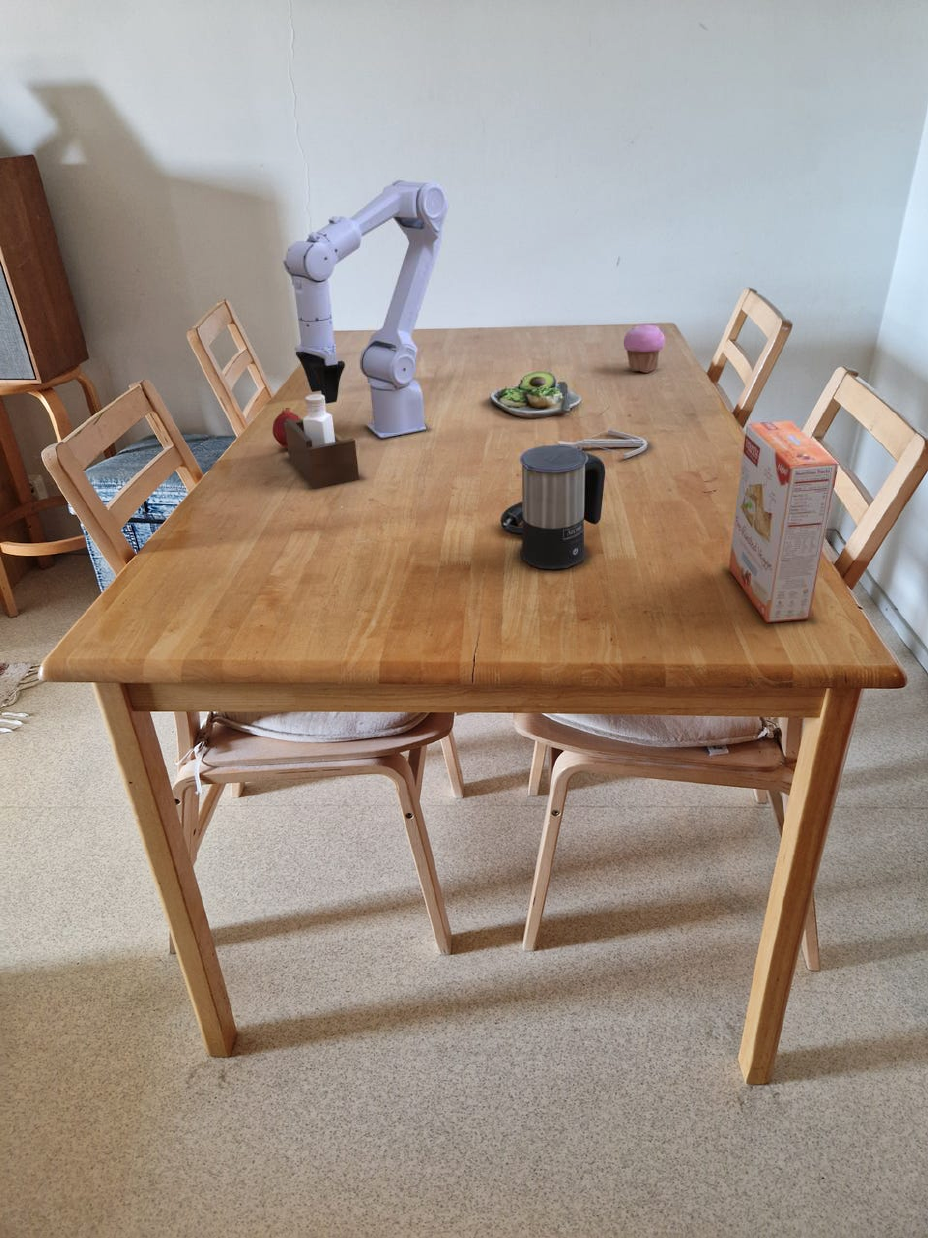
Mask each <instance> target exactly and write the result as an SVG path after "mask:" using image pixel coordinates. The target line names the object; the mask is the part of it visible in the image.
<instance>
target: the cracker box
mask: <svg viewBox="0 0 928 1238" xmlns="http://www.w3.org/2000/svg"><path fill="white" fill-rule="evenodd" d="M838 468H839V462H838V461H837V460H835V459H834V458H833V456H831V455H830V454H828V452H827V451H825V450H824V449H823V448H822V447H820V446H819V445H818V444H817V443H816V442H815V441H814V440H812V439H811V437H809V436H808V435H807V434H806V433H804V431H802V430H801V429H800V428H799V427H797V426H796V425H795V424H794V423H793V422H792V421H791V420H780V421H763V422H762V421H761V422H752V423H748V424H746V425H745V434H744V442H743V451H742V457H741V467H740V474H739V483H738V491H737V498H736V499H737V500H736V507H735V512H734V513H735V514H734V523H733V530H732V532H733V533H732V538H731V547H730V555H729V562H728V569H729V571H730V572H731V574H732V576H733V577H734V578H735V579H736V581H737V582H738V584H739V585H740V586H741V588H742V589H743V591H744V592H745V594H746V595H747V597H748V598H749V600H750V601H751V602H752V604H753V606H754V607H755V609H756V610H757V611H758V613H759V614H760V616H761V617H762V619H763V620H764V622H765V623H767V624H768V623H778V622H779V623H780V622H789V621H790V622H791V621H801V620H809V619H810V618H811V614H812V609H813V604H814V598H815V597H814V596H815V592H816V587H817V581H818V575H819V570H820V566H821V561H822V560H821V559H822V554H823V550H824V545H825V540H826V534H827V527H828V522H829V517H830V513H831V512H830V511H831V508H832V507H831V506H832V501H833V495H834V491H835V486H836V480H837V475H838V471H839V470H838Z"/></svg>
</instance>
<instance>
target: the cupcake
mask: <svg viewBox="0 0 928 1238" xmlns="http://www.w3.org/2000/svg"><path fill="white" fill-rule="evenodd" d="M664 334H665V333H664V332H663V331H662V330H660V328H659V326H657V325H652V324H643V325H636V326H634V327H633V328H631V329H629V330H628V331H627V332H626V334H625V336H624V338H623V347H624V348H623V349H624V350H625V351H626V354H627V359H628V365H629V367H630V369H631V370H632V371H633V372H640V373H643V374H646V373H647V374H648V373H650V372H652V371H654V370H656V368H657V367H658V363H659V355H660V351H661V350H662V349H663V348H664V347H665V346H666V337H665V335H664Z"/></svg>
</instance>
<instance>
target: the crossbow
mask: <svg viewBox="0 0 928 1238" xmlns="http://www.w3.org/2000/svg"><path fill="white" fill-rule="evenodd" d="M605 432H607V434H609V435H612V436H616V437H621V438H624V439H593V437H597V436H599V435H601V434H604V433H605ZM557 445H565V446H570V447H575V448H577V449H580V450H584V448H587V447H589V448H594V447H595V448H596V447H597V448H600V449H604V450H606V451H607V450H608V451H610V452H614V453H617V454H620V455H623V456H622V459H623V460H626V459H628V458H631V457H634V456H636V455H639V454H640V453H642V452H643V451H646V449H647V448H648V442H647V440H646V439H643V438H642V437H639V436H636V435H633V434H629V433H626V432H622V431H617V430H614V429H611V428H609V429H607V430H604V431H602V432H600V433H598V434H594V435H593V436H590V437H589V438H584V439H580V440H576V441H574V442H571V441H561V440H560V441H559V440H557ZM608 447H609V448H626V447H627V448H636V449H634V450H632V451H630V452H627V453H622V452H618V451H616V450H612V449H609V448H608Z"/></svg>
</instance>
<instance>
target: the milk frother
mask: <svg viewBox="0 0 928 1238" xmlns="http://www.w3.org/2000/svg"><path fill="white" fill-rule="evenodd" d="M519 462H520V464H521V501H519V502H517V503H515V504H513V505H511V506H509V507H508V508H506V509H505V510H504V512H502V514H501V516H500V525H501V528H502V529H503V530H504V531H505V532H507V533H509V534H510V535H514V536H521V538H522V539H521V549H520V551H519V552H520V553H519V555H520V558H521V559H522V560H523V562H525V563H526V564H527V565H530V566H531V567H534V568H537V569H544V570H563V569H569V568H571V567H574V566H577V565H578V564H580V563H582V561H583V560H584V559H585V558H586V548H585V522H587V523H589V524H592V525H597V524H599V523H600V522H601V519H602V518H601V517H602V508H603V500H604V491H605V481H606V480H605V479H606V467H605V463H604V462H603V461H602V459H601V458H600V457H598V456H596V455H594V454H592V453H588V452H585V450H583V449H581V450H580V449H579V448H575V447H570V446H565V445H558V444H548V445H539V446H536V447H531V448H529V449H527V450H525V451H523V452H522V453H521V455H519ZM584 521H585V522H584ZM521 524H522V526H520V525H521Z"/></svg>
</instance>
